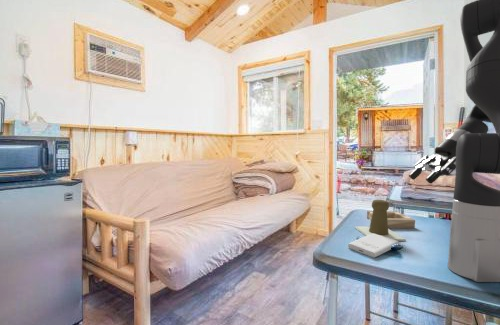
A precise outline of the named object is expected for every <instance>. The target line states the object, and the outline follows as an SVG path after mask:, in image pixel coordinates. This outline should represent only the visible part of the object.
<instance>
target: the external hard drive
mask: <svg viewBox="0 0 500 325" xmlns="http://www.w3.org/2000/svg"><path fill="white" fill-rule="evenodd" d="M399 242H400V241H397V240H393V239H390V238H387V237H384V236H381V235H377V234H374V233H372V234H370V235H367V236H365V235H364V236H363V237H360V238H358V239H356V240H353V241H351V242H349V243H348V244H347V248H348V249H350V250H353V251H355V252H358V253H360V254H362V255H366V256H368V257H370V258H376V257H379V256H382V255H383V254H385V253H387V252H389V251H390V250H392V249H391V246H392V245H394V244H399Z"/></svg>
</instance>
